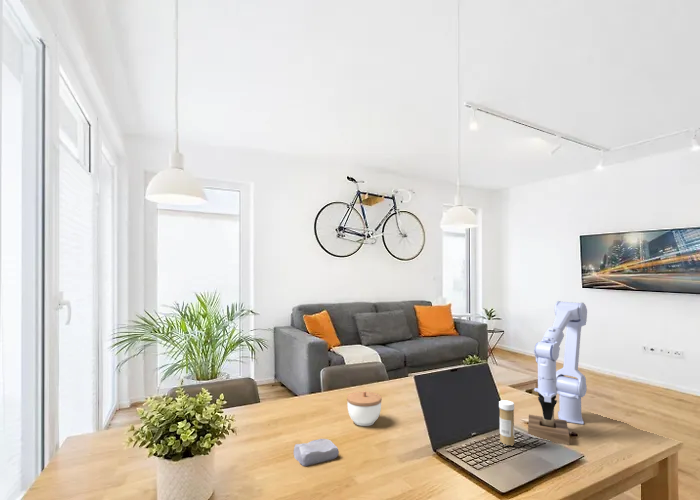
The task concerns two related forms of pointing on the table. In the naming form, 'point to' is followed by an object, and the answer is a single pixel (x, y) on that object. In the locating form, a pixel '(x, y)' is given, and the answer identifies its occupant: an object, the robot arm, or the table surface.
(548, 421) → the dowel
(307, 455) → the stone block
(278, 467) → the table surface
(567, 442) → the socket block
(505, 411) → the sprinkles bottle
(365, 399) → the lidded bowl
